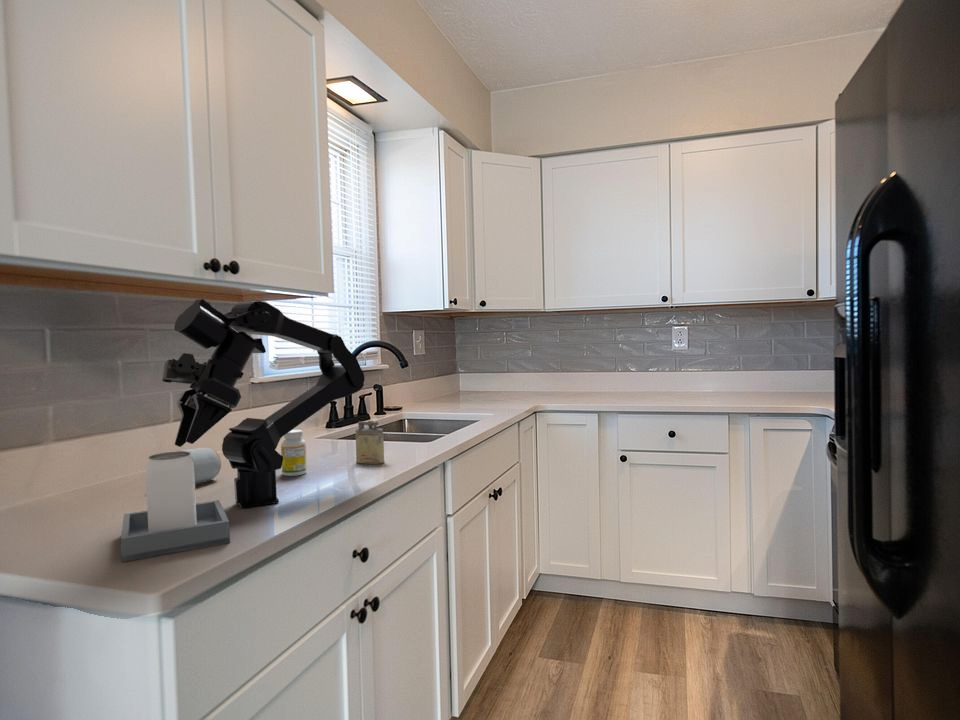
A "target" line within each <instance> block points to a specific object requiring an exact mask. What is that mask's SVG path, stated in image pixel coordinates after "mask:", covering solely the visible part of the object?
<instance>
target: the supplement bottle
mask: <svg viewBox="0 0 960 720" xmlns="http://www.w3.org/2000/svg"><path fill="white" fill-rule="evenodd" d="M283 438H284V440H283V441H281V443H280V455H281V456H282V457H283V462H282V466H281V474H282V475H283V476H285V477H294V476H301V475H304V474H306V473H307V471H308V470H307V468H308V467H307V442H306V440H305V439H303V430H301V429H293V430H291V431H290V432H288V433H287V434H286V435H284V436H283Z"/></svg>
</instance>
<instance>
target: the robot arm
mask: <svg viewBox="0 0 960 720" xmlns="http://www.w3.org/2000/svg"><path fill="white" fill-rule="evenodd" d="M173 330H174V331H175V332H177V333H178V334H180V335H182V337H185V338H186V339H188V340H189V341H191V342H193V343H195V345H198V346H199V347H201V348H203V349H204V350H208V349H210V348H215V349H214V351H213V353H212V355H211V356H210V357H209V358H208V359H207V361H204V362H203V363H200V362H199V361H196V358H195V356H194V354H192V353H186V352H185V353H184V352H183V353H182V354H181V355H180V356H179V357H178V359H176V358H172V359H168V360H166V361H165V362H164V366H163V373H162V379H161V381H162V382H164V383H169V384H170V383H178V384H179V383H180V384H188V385H189V388H190V389H188V390H185V391H183V392H182V393H181V394H180V396H179V398H178V399H177V401H176V403H177V408H178V409H179V412H180V413H181V418H180V423H179V427H178V428H177V429H178V430H177V434H176V438H175V441H174V445H175V446H177V447H179V448H182V447H183V446H184V445H185V444H186V443H188V444H191V445H193V444H194V443H196V442H197V441H198V440H199V439H200V438H201V437H203V435H205V433H207V432H208V431H210V430H211V429H212V428H213V427H214V426H215V425H216V424H218V423H219V422H220V421H221V420H222V419H223V418H225V417H226V416H227V415H228V414H229V413H231V412H232V411H233V409H235V408H237V406H238V404H239V402H240V400H241V399H242V395H241V393H240V389H239V388H237V387H235V386H236V384H237V382H238V380H240V379H242V378H243V376H244V372H243V371H244V369H245V367H246V366H247V364H248V361H249V359H250V358H251V356H252V354H265V353H266V352H267V350H266V347H265V345H264V343H263V339H262V338H254V337H252V336H250V335H255V336H269V337H275V338H278V339H281V340H284V341H287V342H290V343H292V344H295V345H299V346H302V347H305V348H307V349H311V350H315V351H316V352H317V354H318V363H319V369H320V371H321V375H319V378H318V380H317V382H316V384H315V385H314V386H312V387H311V388H309V389H308V390H306V391H305V392H303V393H302V394H300V395H299V396H297V397H296V398H294V399H293V400H292V401H290V402H288V403H287V404H285V405H284V406H283V407H281V408H280V409H278V410H276V411H275V412H273V413H272V414H270V415H269V416H268V417H266V418H264V419H263V418H262V419H261V418H254V417H246V418H245V419H243V420H242V421H241V422H240V423H239V424H237V425H236V426H234V427H229V428H228V430H229V432H228V433H227V434H226V435H225V436H224V437H223V439H222V444H221V450H222V451H221V452H222V455H223V456H224V457H225V459H227V460H228V462H229V464H230V466H231V469H234V470H237V472H236V473H237V475H236V477H234V480H233V482H234V500H235V502H236V503H237V504H238V505H239V506H240V508H242V509H245V508H251V507H257V506H263V505H271V504H277V503H280V499H279V498H278V497H277V473H276V471H277V470H282V462H283V457H282V456H281V453H279V452H278V451H277V447H278V445H279V443H280V440H281V439H282V438H284V435H286V434H287V433H288V432H290V431H291V430H295V428H297V427H298V426H299V425H301V424H303V423H304V422H305V421H307V420H308V419H310V418H311V417H312V416H313V415H315V414H316V413H317V412H319V411H321V410H322V409H323V408H325V407H326V406H328V404H330V403H331V402H333V401H336V400H339V399H343V398H347V397H350V396H351V395H354V394H356V393H358V392H360V391H361V390H362V389H363V387H364V385H365V384H364V382H365V374H364V371H363V369H362V367H361V365H360V363H359V361H358V359H357V357H356V356H355V355H354V354H353V353H352V352H351V351H350V350H349V349H348V347H347V346H346V344H345V342H344V339H343V338H342V337H341V336H340V335H338V334H336V333H335V334H333V333H330V332H327V331H325V330H321V329H319V328H316V327H313V326H311V325H308V324H307V323H303V322H300V321H297V320H294V319H292V318H289V316H286V315H285V314H284V313H283V312H282V311H281V310H280V309H279V308H277V307H275V306H274V305H272V304H271V303H269V302H267V301H264V300H254V301H253V300H251V301H242V302H238V303H236V304H234V305H233V307H232V308H231V311H229V312H226V313H222V312H221V311H219V310H218V309H217V308H216V307H213V306H212V305H211V304H210V302H209V301H207V300H206V299H204V298H200V299H195V300H194V302H193V304H191V305H190V306H189V307H187V308H186V309H185V310H184V311H183V312H182V313H180V314H179V315H178V317H177V319H176V320H175V323H174V329H173ZM333 357H334V358H335V360H337V362H338V363H339V364H335V363H334V360H333Z"/></svg>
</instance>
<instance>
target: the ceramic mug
mask: <svg viewBox="0 0 960 720" xmlns="http://www.w3.org/2000/svg"><path fill="white" fill-rule="evenodd" d="M179 451H183V452H190V457H191V459H192V460H193V462H194V475H195V485H198V484H201V483H205V481H206V482H208V481H211V480H213V479H215V478H216V477H217V476H218V475H219V473H220V471H221V465H222V460H221V456H220V455H219V453H218V452H217V451H216V450H215V449H213V448H211V447H197V448H192V449H191V448H190V449H181V450H176V451H175V452H179Z"/></svg>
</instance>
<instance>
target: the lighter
mask: <svg viewBox="0 0 960 720" xmlns="http://www.w3.org/2000/svg"><path fill="white" fill-rule="evenodd" d="M357 424H358V428H356V429H355V456H356V457H355V459H356V460H355V463H357V464H365V465H368V464H371V465H372V464H375V465H377V464H382V463H383V464H384V463H385V449H384V448H385V444H384V429H383V428H379V427H377V426H378V425H379V421H374V420H367V421H363V420H362V421H358V422H357ZM366 425H367V426H368V427H365V426H366Z"/></svg>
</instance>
